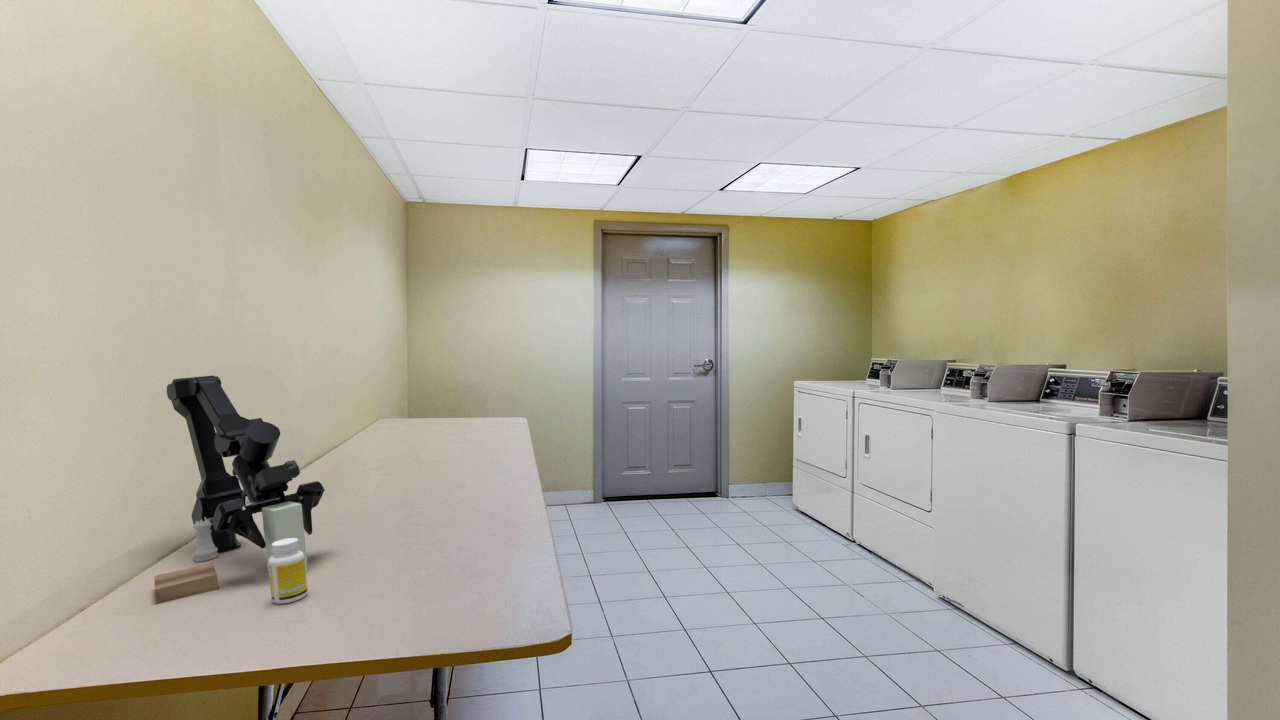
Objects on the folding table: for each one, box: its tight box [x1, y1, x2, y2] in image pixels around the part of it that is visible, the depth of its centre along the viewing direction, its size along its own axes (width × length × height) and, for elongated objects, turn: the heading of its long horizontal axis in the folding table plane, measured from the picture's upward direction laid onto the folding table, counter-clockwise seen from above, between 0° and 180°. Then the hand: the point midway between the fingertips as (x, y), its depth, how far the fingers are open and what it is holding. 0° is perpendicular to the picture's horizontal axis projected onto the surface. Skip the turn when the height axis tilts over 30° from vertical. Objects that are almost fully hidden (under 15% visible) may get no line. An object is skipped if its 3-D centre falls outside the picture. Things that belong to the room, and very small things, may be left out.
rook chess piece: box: [192, 519, 220, 563], centre depth 135 cm, size 4×4×8 cm
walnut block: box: [154, 562, 219, 605], centre depth 118 cm, size 9×9×3 cm
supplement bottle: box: [268, 538, 308, 605], centre depth 110 cm, size 5×5×10 cm
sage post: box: [261, 501, 309, 576], centre depth 122 cm, size 5×5×13 cm
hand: (288, 539), depth 121 cm, fingers open, 8 cm apart
